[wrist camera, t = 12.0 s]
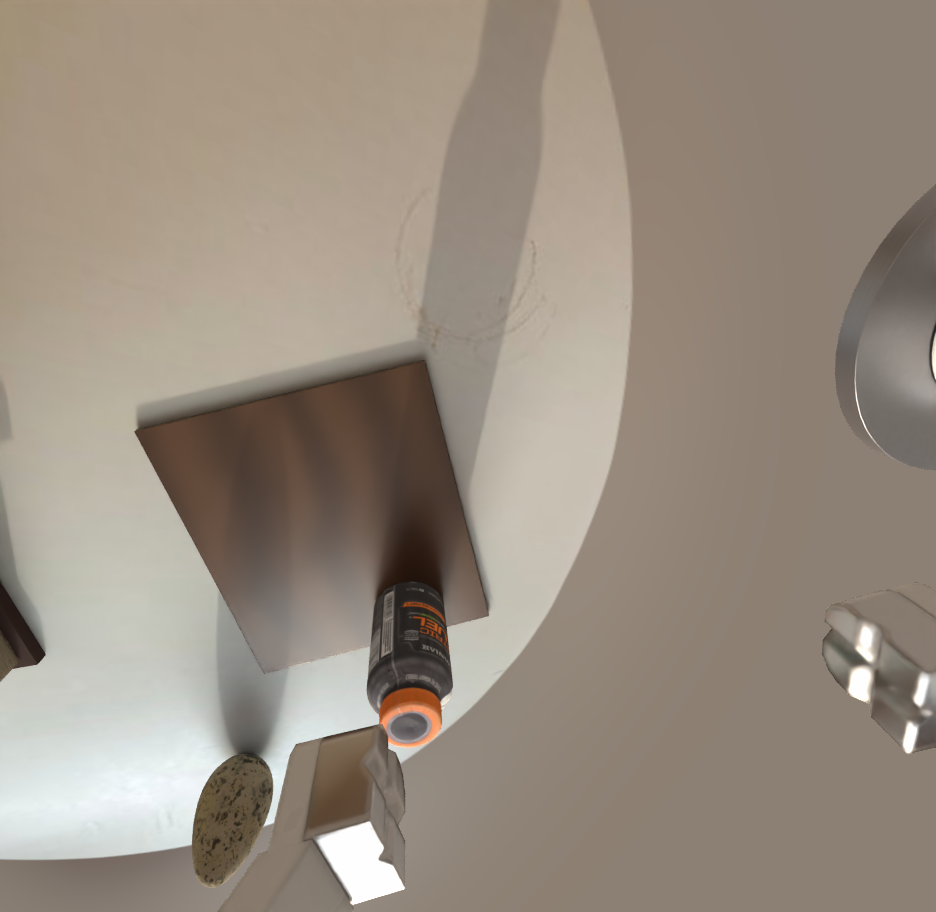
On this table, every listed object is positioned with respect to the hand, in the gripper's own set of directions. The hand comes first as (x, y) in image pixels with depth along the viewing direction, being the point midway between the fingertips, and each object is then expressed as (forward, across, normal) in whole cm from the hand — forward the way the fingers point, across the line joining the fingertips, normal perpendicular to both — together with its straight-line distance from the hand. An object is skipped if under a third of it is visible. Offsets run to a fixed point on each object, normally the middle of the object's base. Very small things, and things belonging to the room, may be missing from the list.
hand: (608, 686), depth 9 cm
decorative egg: (+28, +28, +32) cm, 51 cm away
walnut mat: (+28, +12, +11) cm, 32 cm away
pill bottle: (+27, +9, +19) cm, 35 cm away
